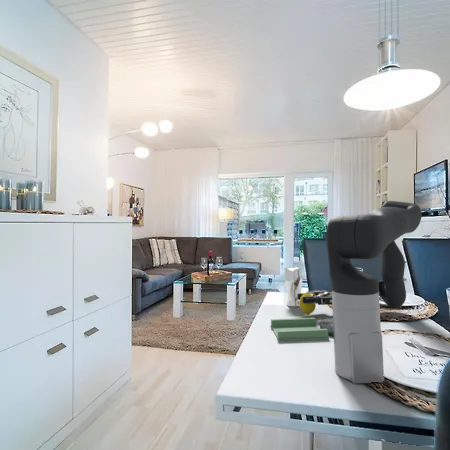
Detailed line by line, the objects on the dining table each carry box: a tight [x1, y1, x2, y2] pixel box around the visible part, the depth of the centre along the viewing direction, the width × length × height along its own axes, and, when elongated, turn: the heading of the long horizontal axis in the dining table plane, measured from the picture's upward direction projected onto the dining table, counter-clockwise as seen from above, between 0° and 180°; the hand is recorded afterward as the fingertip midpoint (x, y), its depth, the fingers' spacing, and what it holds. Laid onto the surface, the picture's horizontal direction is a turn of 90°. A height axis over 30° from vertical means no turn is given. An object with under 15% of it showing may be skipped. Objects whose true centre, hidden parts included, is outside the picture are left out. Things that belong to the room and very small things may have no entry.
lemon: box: [299, 292, 317, 316], centre depth 108 cm, size 6×6×8 cm
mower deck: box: [319, 317, 334, 338], centre depth 91 cm, size 14×14×2 cm
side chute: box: [270, 317, 330, 342], centre depth 91 cm, size 14×14×2 cm
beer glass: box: [284, 267, 303, 308], centre depth 124 cm, size 7×7×15 cm
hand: (300, 298), depth 108 cm, fingers closed on lemon, 5 cm apart
